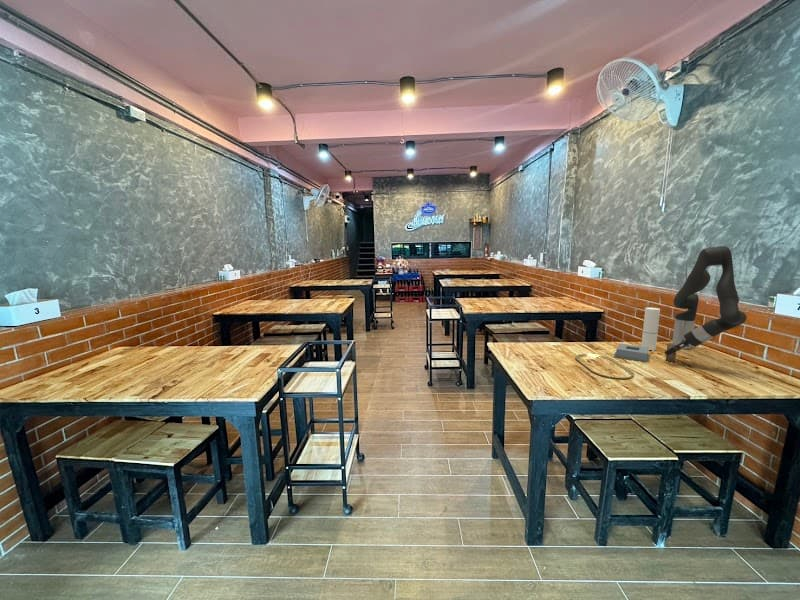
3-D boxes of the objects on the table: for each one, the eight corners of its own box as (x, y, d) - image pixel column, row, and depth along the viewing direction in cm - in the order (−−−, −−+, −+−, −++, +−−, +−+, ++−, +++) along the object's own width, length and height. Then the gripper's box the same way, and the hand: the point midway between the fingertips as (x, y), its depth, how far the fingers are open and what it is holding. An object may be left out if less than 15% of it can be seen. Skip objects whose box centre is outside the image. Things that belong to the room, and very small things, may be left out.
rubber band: (603, 356, 191) (604, 354, 191) (642, 380, 157) (643, 377, 156) (569, 356, 192) (569, 353, 192) (600, 380, 158) (601, 376, 158)
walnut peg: (665, 359, 184) (667, 342, 182) (674, 361, 181) (676, 344, 180) (665, 361, 181) (667, 344, 179) (675, 363, 178) (677, 345, 177)
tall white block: (655, 348, 203) (659, 308, 199) (656, 351, 197) (661, 310, 193) (640, 347, 207) (644, 307, 203) (641, 350, 201) (645, 309, 197)
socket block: (616, 350, 201) (617, 342, 200) (649, 355, 191) (650, 347, 190) (613, 357, 188) (614, 349, 188) (649, 363, 179) (649, 354, 178)
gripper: (696, 327, 176) (666, 344, 187) (688, 332, 168) (658, 349, 179) (708, 339, 173) (677, 355, 184) (701, 344, 165) (669, 361, 175)
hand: (668, 352), depth 181 cm, fingers open, 8 cm apart
